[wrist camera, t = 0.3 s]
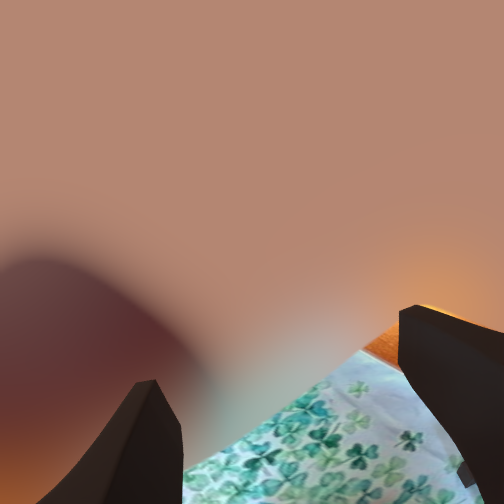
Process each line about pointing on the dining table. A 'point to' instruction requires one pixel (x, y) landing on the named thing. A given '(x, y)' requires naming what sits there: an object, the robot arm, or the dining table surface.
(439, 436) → the dining table surface
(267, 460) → the dining table surface
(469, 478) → the notch pad
